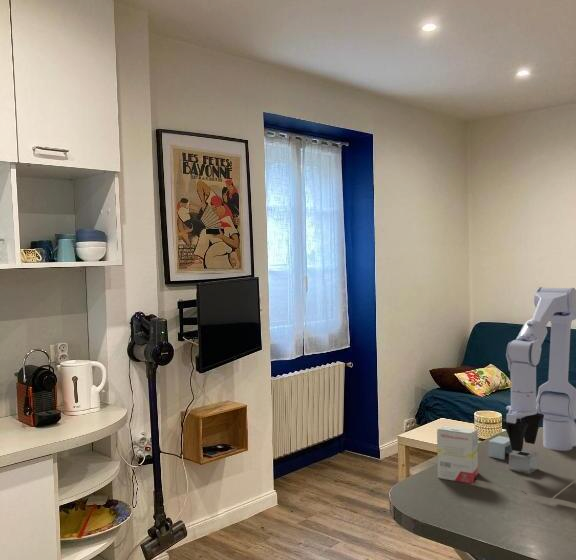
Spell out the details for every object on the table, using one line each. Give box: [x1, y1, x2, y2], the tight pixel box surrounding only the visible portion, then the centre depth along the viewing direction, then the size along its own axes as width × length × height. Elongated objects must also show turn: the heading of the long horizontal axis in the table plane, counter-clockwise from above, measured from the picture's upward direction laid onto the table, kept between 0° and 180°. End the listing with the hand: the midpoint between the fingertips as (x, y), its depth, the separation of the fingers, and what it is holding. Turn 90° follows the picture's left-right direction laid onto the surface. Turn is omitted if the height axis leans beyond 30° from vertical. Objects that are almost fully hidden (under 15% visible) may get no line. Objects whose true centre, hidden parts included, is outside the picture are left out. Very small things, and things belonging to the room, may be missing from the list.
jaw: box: [508, 449, 539, 475], centre depth 146 cm, size 5×5×4 cm
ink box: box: [436, 424, 479, 485], centre depth 144 cm, size 9×5×12 cm, turn 57°
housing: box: [488, 435, 515, 460], centre depth 157 cm, size 6×4×4 cm, turn 136°
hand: (523, 446), depth 146 cm, fingers open, 7 cm apart
